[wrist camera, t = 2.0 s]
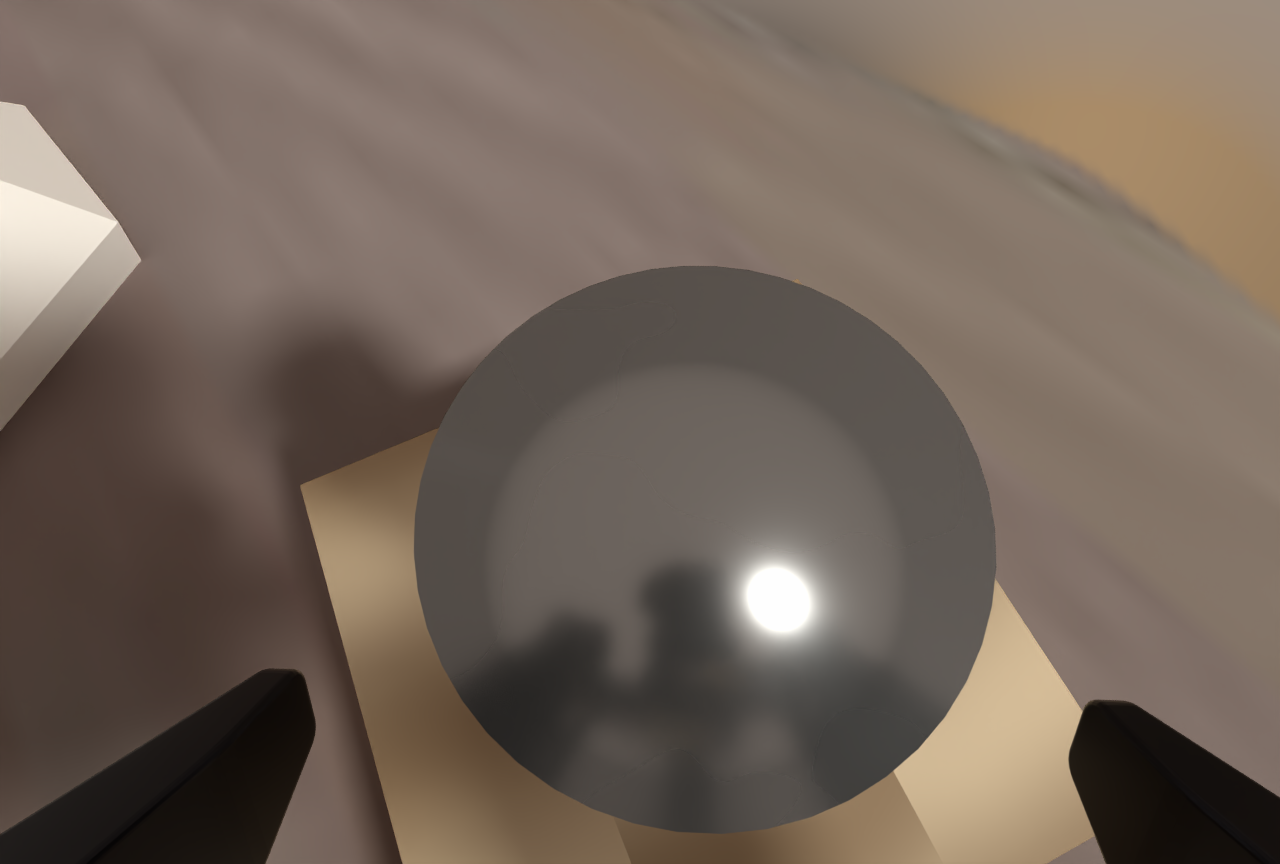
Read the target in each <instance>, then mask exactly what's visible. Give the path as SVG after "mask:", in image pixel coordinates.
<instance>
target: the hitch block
mask: <svg viewBox="0 0 1280 864" xmlns="http://www.w3.org/2000/svg"><path fill="white" fill-rule="evenodd" d="M792 282H795V283H798V284H801V283H800V281H799V280H798V279H796V280H794V281H792ZM801 285H802V284H801ZM438 429H439V428H437V429H434V430H432V431H429V432H427V433H424V434H422V435H420V436H417V437H415V438H412V439H410V440H408V441H405V442H403V443H400V444H398V445H395V446H393V447H391V448H388V449H386V450H383V451H381V452H379V453H376V454H374V455H371V456H369V457H367V458H364V459H362V460H359V461H357V462H354V463H352V464H350V465H347V466H345V467H342V468H340V469H338V470H335V471H333V472H330V473H328V474H326V475H323V476H321V477H318V478H316V479H313V480H311V481H309V482H306V483H304V484H301V485H300V487H301V491H302V494H303V498H304V502H305V506H306V509H307V513H308V517H309V520H310V524H311V528H312V531H313V535H314V539H315V542H316V546H317V550H318V553H319V557H320V561H321V565H322V568H323V572H324V576H325V579H326V583H327V587H328V590H329V594H330V598H331V601H332V605H333V609H334V613H335V616H336V620H337V624H338V627H339V631H340V635H341V638H342V642H343V646H344V649H345V653H346V657H347V661H348V664H349V668H350V672H351V675H352V679H353V683H354V686H355V690H356V694H357V697H358V701H359V705H360V708H361V712H362V716H363V720H364V723H365V727H366V731H367V734H368V738H369V742H370V745H371V749H372V753H373V756H374V760H375V764H376V768H377V771H378V775H379V779H380V782H381V786H382V790H383V793H384V797H385V801H386V804H387V808H388V812H389V816H390V819H391V823H392V827H393V830H394V834H395V838H396V841H397V845H398V849H399V852H400V856H401V860H402V863H403V864H1046V863H1048V862H1050V861H1052V860H1053V859H1055V858H1057V857H1059V856H1060V855H1062V854H1064V853H1066V852H1067V851H1069V850H1071V849H1073V848H1074V847H1076V846H1078V845H1080V844H1081V843H1083V842H1085V841H1087V840H1088V839H1090V838H1092V837H1094V836H1095V835H1094V832H1093V830H1092V827H1091V825H1090V822H1089V820H1088V817H1087V815H1086V812H1085V810H1084V807H1083V805H1082V802H1081V800H1080V797H1079V794H1078V792H1077V789H1076V787H1075V784H1074V782H1073V779H1072V776H1071V773H1070V769H1069V762H1068V757H1069V750H1070V747H1071V744H1072V741H1073V738H1074V735H1075V732H1076V729H1077V726H1078V723H1079V720H1080V717H1081V714H1082V710H1081V709H1080V707H1079V706H1078V704H1077V703H1076V701H1075V699H1074V698H1073V696H1072V695H1071V693H1070V692H1069V690H1068V689H1067V687H1066V686H1065V684H1064V683H1063V681H1062V680H1061V678H1060V677H1059V675H1058V674H1057V672H1056V671H1055V669H1054V668H1053V666H1052V664H1051V663H1050V661H1049V660H1048V658H1047V657H1046V655H1045V654H1044V652H1043V651H1042V649H1041V648H1040V646H1039V645H1038V643H1037V642H1036V640H1035V639H1034V637H1033V636H1032V634H1031V633H1030V631H1029V630H1028V628H1027V626H1026V625H1025V623H1024V622H1023V620H1022V619H1021V617H1020V616H1019V614H1018V613H1017V611H1016V610H1015V608H1014V607H1013V605H1012V604H1011V602H1010V601H1009V599H1008V598H1007V596H1006V595H1005V593H1004V591H1003V590H1002V588H1001V587H1000V585H999V584H998V582H997V581H996V579H995V583H994V593H993V602H992V608H991V612H990V616H989V620H988V624H987V628H986V632H985V636H984V640H983V644H982V646H981V649H980V651H979V653H978V656H977V658H976V661H975V663H974V665H973V668H972V670H971V673H970V675H969V677H968V680H967V682H966V684H965V685H964V687H963V688H962V690H961V692H960V693H959V695H958V697H957V698H956V700H955V702H954V703H953V705H952V707H951V708H950V710H949V712H948V713H947V715H946V716H945V718H944V719H943V720H942V721H941V722H940V724H939V725H938V726H937V727H936V728H935V730H934V731H933V732H932V733H931V734H930V736H929V737H928V738H927V739H926V740H925V742H924V743H923V744H922V745H921V746H920V748H919V749H918V750H916V751H915V752H914V753H913V754H912V755H911V756H910V757H909V758H907V759H906V760H905V761H904V762H903V763H902V764H901V765H899V766H898V767H897V768H896V769H895V770H894V771H893V772H891V773H890V774H889V775H888V776H887V777H885V778H884V779H882V780H881V781H879V782H878V783H876V784H874V785H873V786H871V787H870V788H868V789H867V790H865V791H863V792H862V793H860V794H859V795H857V796H856V797H854V798H852V799H851V800H849V801H847V802H844V803H842V804H840V805H838V806H835V807H833V808H831V809H828V810H826V811H824V812H822V813H819V814H817V815H815V816H812V817H810V818H807V819H803V820H799V821H795V822H792V823H788V824H784V825H780V826H777V827H773V828H769V829H763V830H754V831H745V832H736V833H726V834H713V833H689V832H675V831H670V830H665V829H659V828H654V827H649V826H644V825H639V824H634V823H631V822H628V821H625V820H622V819H619V818H617V817H614V816H611V815H608V814H605V813H602V812H600V811H597V810H594V809H591V808H589V807H588V806H586V805H584V804H582V803H580V802H578V801H576V800H574V799H572V798H570V797H568V796H567V795H565V794H563V793H561V792H559V791H557V790H555V789H553V788H552V787H550V786H549V785H548V784H546V783H545V782H544V781H542V780H541V779H539V778H538V777H537V776H535V775H534V774H532V773H531V772H530V771H528V770H527V769H526V768H524V767H523V766H521V765H520V764H519V763H517V762H516V761H515V760H514V759H513V758H512V757H511V756H510V755H509V754H508V753H507V752H506V751H505V750H504V749H503V748H502V747H501V746H500V745H499V744H498V743H497V742H496V741H495V740H494V739H493V738H492V737H491V736H490V735H489V734H488V733H487V732H486V731H485V730H484V728H483V727H482V726H481V724H480V723H479V722H478V721H477V719H476V718H475V717H474V715H473V714H472V713H471V711H470V710H469V709H468V708H467V706H466V705H465V704H464V702H463V701H462V700H461V698H460V696H459V694H458V693H457V691H456V689H455V687H454V686H453V684H452V682H451V680H450V679H449V677H448V675H447V673H446V672H445V670H444V668H443V666H442V664H441V662H440V659H439V657H438V654H437V652H436V649H435V647H434V644H433V642H432V639H431V637H430V634H429V632H428V629H427V626H426V622H425V618H424V614H423V610H422V606H421V602H420V598H419V594H418V588H417V579H416V570H415V560H414V526H415V512H416V506H417V499H418V493H419V487H420V481H421V477H422V474H423V471H424V467H425V464H426V461H427V457H428V454H429V451H430V447H431V445H432V443H433V441H434V438H435V436H436V434H437V432H438Z"/></svg>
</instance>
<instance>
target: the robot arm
mask: <svg viewBox="0 0 1280 864" xmlns="http://www.w3.org/2000/svg"><path fill="white" fill-rule="evenodd" d="M315 730H316V723H315V717H314V713H313V709H312V705H311V700H310V696H309V692H308V688H307V684H306V680H305V677H304V675H303V674H302V673H301V672H300V671H298V670H295V669H265V670H262V671H260V672H258V673H256V674H255V675H253V676H252V677H250V678H248V679H247V680H245V681H244V682H242V683H240V684H239V685H237V686H236V687H234V688H232V689H231V690H229V691H228V692H226V693H224V694H223V695H221V696H220V697H218V698H216V699H215V700H213V701H212V702H210V703H209V704H207V705H205V706H204V707H202V708H201V709H199V710H197V711H196V712H194V713H193V714H191V715H189V716H188V717H186V718H185V719H183V720H181V721H180V722H178V723H177V724H175V725H173V726H172V727H170V728H169V729H167V730H166V731H164V732H162V733H161V734H159V735H158V736H156V737H154V738H153V739H151V740H150V741H148V742H146V743H145V744H143V745H142V746H140V747H138V748H137V749H135V750H134V751H132V752H131V753H129V754H127V755H126V756H124V757H123V758H121V759H119V760H118V761H116V762H115V763H113V764H111V765H110V766H108V767H107V768H105V769H103V770H102V771H100V772H99V773H97V774H95V775H94V776H92V777H91V778H89V779H88V780H86V781H84V782H83V783H81V784H80V785H78V786H76V787H75V788H73V789H72V790H70V791H68V792H67V793H65V794H64V795H62V796H60V797H59V798H57V799H56V800H54V801H53V802H51V803H49V804H48V805H46V806H45V807H43V808H41V809H40V810H38V811H37V812H35V813H33V814H32V815H30V816H29V817H27V818H25V819H24V820H22V821H21V822H19V823H17V824H16V825H14V826H13V827H11V828H9V829H8V830H6V831H5V832H3V833H2V834H0V864H265V863H266V861H267V859H268V856H269V854H270V851H271V849H272V846H273V844H274V841H275V839H276V836H277V833H278V831H279V828H280V826H281V823H282V821H283V818H284V816H285V813H286V810H287V808H288V805H289V803H290V800H291V798H292V795H293V793H294V790H295V787H296V785H297V782H298V780H299V777H300V775H301V772H302V770H303V767H304V764H305V762H306V759H307V757H308V754H309V752H310V749H311V747H312V744H313V741H314V736H315ZM1068 762H1069V769H1070V773H1071V776H1072V779H1073V782H1074V784H1075V787H1076V789H1077V792H1078V794H1079V797H1080V800H1081V802H1082V805H1083V807H1084V810H1085V812H1086V815H1087V817H1088V820H1089V822H1090V825H1091V827H1092V830H1093V832H1094V835H1095V837H1096V840H1097V843H1098V845H1099V848H1100V850H1101V853H1102V855H1103V858H1104V860H1105V863H1106V864H1280V797H1278V796H1277V795H1275V794H1274V793H1272V792H1271V791H1269V790H1267V789H1266V788H1264V787H1263V786H1261V785H1260V784H1258V783H1257V782H1255V781H1254V780H1252V779H1250V778H1249V777H1247V776H1246V775H1244V774H1243V773H1241V772H1240V771H1238V770H1236V769H1235V768H1233V767H1232V766H1230V765H1229V764H1227V763H1226V762H1224V761H1222V760H1221V759H1219V758H1218V757H1216V756H1215V755H1213V754H1212V753H1210V752H1208V751H1207V750H1205V749H1204V748H1202V747H1201V746H1199V745H1198V744H1196V743H1194V742H1193V741H1191V740H1190V739H1188V738H1187V737H1185V736H1184V735H1182V734H1181V733H1179V732H1177V731H1176V730H1174V729H1173V728H1171V727H1170V726H1168V725H1167V724H1165V723H1163V722H1162V721H1160V720H1159V719H1157V718H1156V717H1154V716H1153V715H1151V714H1149V713H1148V712H1146V711H1145V710H1143V709H1142V708H1140V707H1139V706H1137V705H1135V704H1133V703H1131V702H1127V701H1118V700H1092V701H1090V702H1088V703H1087V704H1086V705H1085V707H1084V709H1083V712H1082V714H1081V717H1080V720H1079V723H1078V726H1077V729H1076V732H1075V735H1074V738H1073V741H1072V744H1071V747H1070V750H1069V757H1068Z"/></svg>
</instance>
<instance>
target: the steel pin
mask: <svg viewBox="0 0 1280 864" xmlns="http://www.w3.org/2000/svg"><path fill="white" fill-rule="evenodd" d="M414 560H415V570H416V579H417V588H418V594H419V598H420V602H421V606H422V610H423V614H424V618H425V622H426V626H427V629H428V632H429V634H430V637H431V639H432V642H433V644H434V647H435V649H436V652H437V654H438V657H439V659H440V662H441V664H442V666H443V668H444V670H445V672H446V673H447V675H448V677H449V679H450V680H451V682H452V684H453V686H454V687H455V689H456V691H457V693H458V694H459V696H460V698H461V700H462V701H463V702H464V704H465V705H466V706H467V708H468V709H469V710H470V711H471V713H472V714H473V715H474V717H475V718H476V719H477V721H478V722H479V723H480V724H481V726H482V727H483V728H484V730H485V731H486V732H487V733H488V734H489V735H490V736H491V737H492V738H493V739H494V740H495V741H496V742H497V743H498V744H499V745H500V746H501V747H502V748H503V749H504V750H505V751H506V752H507V753H508V754H509V755H510V756H511V757H512V758H513V759H514V760H515V761H516V762H517V763H519V764H520V765H521V766H523V767H524V768H526V769H527V770H528V771H530V772H531V773H532V774H534V775H535V776H537V777H538V778H539V779H541V780H542V781H544V782H545V783H546V784H548V785H549V786H550V787H552V788H553V789H555V790H557V791H559V792H561V793H563V794H565V795H567V796H568V797H570V798H572V799H574V800H576V801H578V802H580V803H582V804H584V805H586V806H588V807H589V808H591V809H594V810H597V811H600V812H602V813H605V814H608V815H611V816H614V817H617V818H619V819H622V820H625V821H628V822H631V823H634V824H639V825H644V826H649V827H654V828H659V829H665V830H670V831H675V832H689V833H713V834H726V833H736V832H745V831H754V830H763V829H769V828H773V827H777V826H780V825H784V824H788V823H792V822H795V821H799V820H803V819H807V818H810V817H812V816H815V815H817V814H819V813H822V812H824V811H826V810H828V809H831V808H833V807H835V806H838V805H840V804H842V803H844V802H847V801H849V800H851V799H852V798H854V797H856V796H857V795H859V794H860V793H862V792H863V791H865V790H867V789H868V788H870V787H871V786H873V785H874V784H876V783H878V782H879V781H881V780H882V779H884V778H885V777H887V776H888V775H889V774H890V773H891V772H893V771H894V770H895V769H896V768H897V767H898V766H899V765H901V764H902V763H903V762H904V761H905V760H906V759H907V758H909V757H910V756H911V755H912V754H913V753H914V752H915V751H916V750H918V749H919V748H920V746H921V745H922V744H923V743H924V742H925V740H926V739H927V738H928V737H929V736H930V734H931V733H932V732H933V731H934V730H935V728H936V727H937V726H938V725H939V724H940V722H941V721H942V720H943V719H944V718H945V716H946V715H947V713H948V712H949V710H950V708H951V707H952V705H953V703H954V702H955V700H956V698H957V697H958V695H959V693H960V692H961V690H962V688H963V687H964V685H965V684H966V682H967V680H968V677H969V675H970V673H971V670H972V668H973V665H974V663H975V661H976V658H977V656H978V653H979V651H980V649H981V646H982V644H983V640H984V636H985V632H986V628H987V624H988V620H989V616H990V612H991V608H992V602H993V593H994V583H995V574H996V545H995V526H994V521H993V515H992V509H991V503H990V497H989V492H988V488H987V485H986V482H985V479H984V475H983V472H982V469H981V466H980V463H979V459H978V456H977V454H976V452H975V450H974V448H973V445H972V443H971V441H970V439H969V437H968V434H967V432H966V430H965V428H964V426H963V424H962V422H961V420H960V419H959V417H958V415H957V414H956V412H955V411H954V409H953V407H952V406H951V404H950V402H949V401H948V399H947V398H946V396H945V394H944V393H943V392H942V390H941V389H940V388H939V387H938V385H937V384H936V383H935V382H934V380H933V379H932V378H931V377H930V375H929V374H928V373H927V372H926V370H925V369H924V368H923V367H922V365H921V364H920V363H919V362H918V361H917V360H916V359H915V358H914V357H913V356H912V355H911V354H909V353H908V352H907V351H906V350H905V349H904V348H903V347H902V346H901V345H900V344H899V343H898V342H897V341H896V340H895V339H894V338H892V337H891V336H890V335H888V334H887V333H886V332H885V331H883V330H882V329H881V328H880V327H878V326H877V325H876V324H874V323H873V322H872V321H871V320H869V319H868V318H866V317H864V316H863V315H861V314H859V313H858V312H856V311H855V310H853V309H851V308H850V307H848V306H846V305H845V304H843V303H842V302H840V301H837V300H835V299H833V298H831V297H829V296H827V295H825V294H823V293H821V292H818V291H816V290H814V289H812V288H809V287H807V286H804V285H801V284H798V283H795V282H792V281H789V280H786V279H783V278H780V277H776V276H772V275H768V274H763V273H759V272H754V271H750V270H743V269H735V268H726V267H717V266H679V267H669V268H659V269H650V270H646V271H641V272H636V273H632V274H627V275H622V276H618V277H615V278H612V279H609V280H606V281H603V282H600V283H597V284H594V285H591V286H589V287H586V288H584V289H582V290H580V291H578V292H576V293H573V294H571V295H569V296H567V297H565V298H563V299H561V300H559V301H557V302H555V303H554V304H552V305H551V306H549V307H547V308H546V309H544V310H542V311H541V312H539V313H537V314H536V315H534V316H533V317H531V318H530V319H529V320H527V321H526V322H525V323H523V324H522V325H521V326H520V327H518V328H517V329H516V330H515V331H513V332H512V333H511V334H509V335H508V336H507V337H506V338H505V339H504V340H503V341H502V342H501V343H500V344H499V345H498V346H497V347H496V348H495V349H494V350H493V351H492V352H491V353H490V354H489V355H488V356H487V357H486V358H485V359H484V360H483V361H482V362H481V363H480V365H479V366H478V367H477V368H476V370H475V371H474V372H473V373H472V375H471V376H470V377H469V378H468V380H467V381H466V382H465V384H464V385H463V386H462V388H461V389H460V391H459V393H458V394H457V396H456V398H455V399H454V401H453V403H452V404H451V406H450V407H449V409H448V411H447V412H446V414H445V416H444V418H443V420H442V423H441V425H440V427H439V429H438V432H437V434H436V436H435V438H434V441H433V443H432V445H431V447H430V451H429V454H428V457H427V461H426V464H425V467H424V471H423V474H422V477H421V481H420V487H419V493H418V499H417V506H416V512H415V526H414Z"/></svg>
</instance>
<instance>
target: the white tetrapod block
mask: <svg viewBox="0 0 1280 864" xmlns="http://www.w3.org/2000/svg"><path fill="white" fill-rule="evenodd" d="M140 261H141V259H140V257H139V256H138V254H137V252H136V251H135V249H134V247H133V246H132V244H131V242H130V241H129V239H128V237H127V236H126V234H125V232H124V231H123V229H122V227H121V226H120V224H119V223H118V221H117V220H116V219H115V217H114V216H113V215H112V214H111V213H110V211H109V210H108V209H107V208H106V206H105V205H104V204H103V203H102V201H101V200H100V199H99V198H98V196H97V195H96V194H95V193H94V191H93V190H92V189H91V188H90V186H89V185H88V184H87V183H86V182H85V180H84V179H83V178H82V177H81V175H80V174H79V173H78V172H77V170H76V169H75V168H74V167H73V165H72V164H71V163H70V162H69V160H68V159H67V158H66V157H65V155H64V154H63V153H62V152H61V151H60V149H59V148H58V147H57V146H56V144H55V143H54V142H53V141H52V139H51V138H50V137H49V136H48V134H47V133H46V132H45V131H44V129H43V128H42V127H41V126H40V124H39V123H38V122H37V121H36V120H35V118H34V117H33V116H32V115H31V113H30V112H29V111H28V110H27V108H26V107H25V106H24V105H18V104H12V103H6V102H0V431H1V430H2V429H3V428H4V426H5V425H6V424H7V423H8V422H9V420H10V419H11V418H12V417H13V416H14V414H15V413H16V412H17V411H18V409H19V408H20V407H21V406H22V405H23V403H24V402H25V401H26V400H27V399H28V397H29V396H30V395H31V394H32V392H33V391H34V390H35V389H36V388H37V386H38V385H39V384H40V383H41V382H42V380H43V379H44V378H45V377H46V375H47V374H48V373H49V372H50V371H51V369H52V368H53V367H54V366H55V365H56V363H57V362H58V361H59V360H60V358H61V357H62V356H63V355H64V354H65V352H66V351H67V350H68V349H69V348H70V346H71V345H72V344H73V343H74V341H75V340H76V339H77V338H78V337H79V335H80V334H81V333H82V332H83V330H84V329H85V328H86V327H87V326H88V324H89V323H90V322H91V321H92V320H93V318H94V317H95V316H96V315H97V313H98V312H99V311H100V310H101V309H102V307H103V306H104V305H105V304H106V303H107V301H108V300H109V299H110V298H111V296H112V295H113V294H114V293H115V292H116V290H117V289H118V288H119V287H120V286H121V284H122V283H123V282H124V281H125V279H126V278H127V277H128V276H129V275H130V273H131V272H132V271H133V270H134V269H135V267H136V266H137V265H138V264H139V262H140Z"/></svg>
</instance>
